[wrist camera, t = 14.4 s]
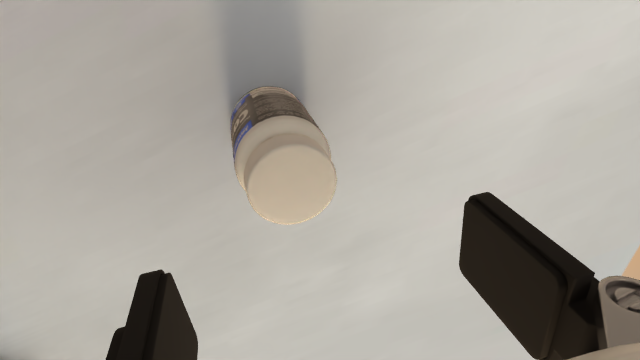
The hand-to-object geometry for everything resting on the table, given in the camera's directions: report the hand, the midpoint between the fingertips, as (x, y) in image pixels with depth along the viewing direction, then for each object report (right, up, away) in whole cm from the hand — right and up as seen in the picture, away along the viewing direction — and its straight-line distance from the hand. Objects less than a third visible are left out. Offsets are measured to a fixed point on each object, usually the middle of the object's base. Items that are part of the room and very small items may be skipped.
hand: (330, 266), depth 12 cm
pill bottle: (-4, +6, +12) cm, 14 cm away
